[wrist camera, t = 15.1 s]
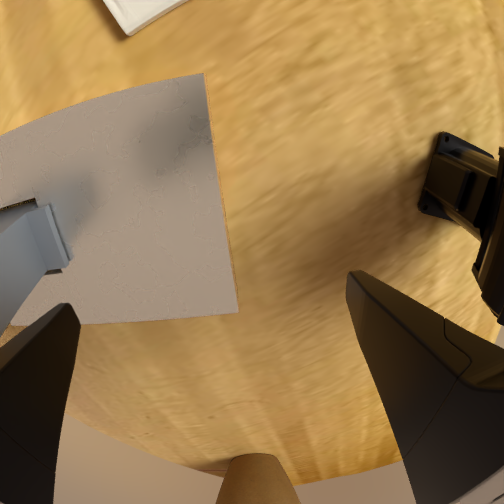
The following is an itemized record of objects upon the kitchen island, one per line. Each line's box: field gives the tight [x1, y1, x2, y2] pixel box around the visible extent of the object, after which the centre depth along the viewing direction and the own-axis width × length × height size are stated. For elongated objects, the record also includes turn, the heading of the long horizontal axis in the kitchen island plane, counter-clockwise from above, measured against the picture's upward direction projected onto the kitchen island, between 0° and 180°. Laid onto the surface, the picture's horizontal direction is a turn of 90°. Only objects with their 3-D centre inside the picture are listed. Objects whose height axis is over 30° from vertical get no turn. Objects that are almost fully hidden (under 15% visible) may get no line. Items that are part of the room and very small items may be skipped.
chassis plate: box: [0, 73, 239, 326], centre depth 19 cm, size 22×16×2 cm
